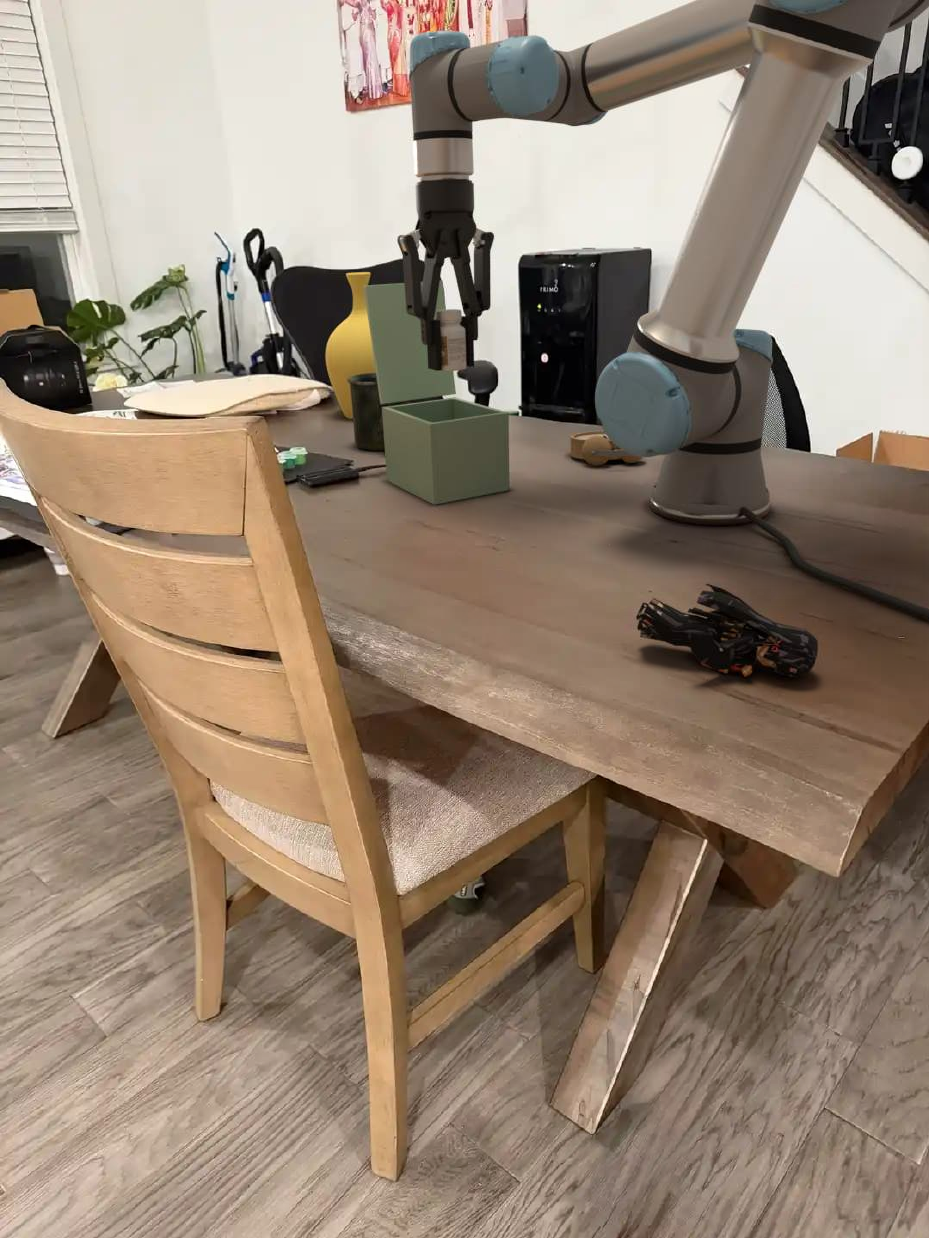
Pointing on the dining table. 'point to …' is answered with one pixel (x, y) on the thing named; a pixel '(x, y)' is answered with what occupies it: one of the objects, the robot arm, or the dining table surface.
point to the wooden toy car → (598, 448)
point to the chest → (446, 449)
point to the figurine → (730, 635)
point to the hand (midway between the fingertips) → (451, 367)
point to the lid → (402, 347)
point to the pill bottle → (452, 340)
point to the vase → (351, 345)
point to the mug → (368, 411)
